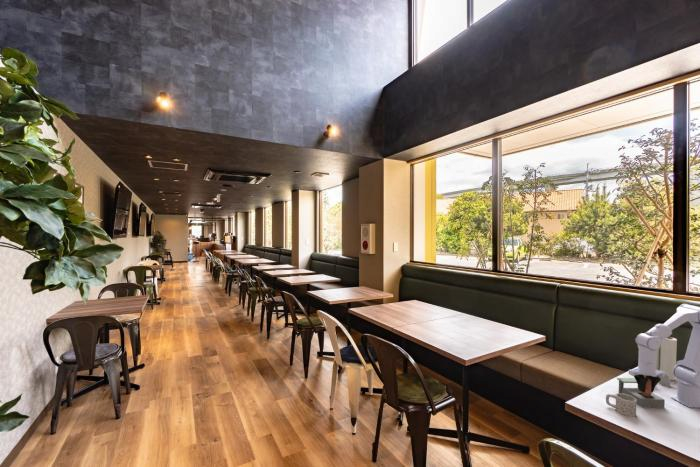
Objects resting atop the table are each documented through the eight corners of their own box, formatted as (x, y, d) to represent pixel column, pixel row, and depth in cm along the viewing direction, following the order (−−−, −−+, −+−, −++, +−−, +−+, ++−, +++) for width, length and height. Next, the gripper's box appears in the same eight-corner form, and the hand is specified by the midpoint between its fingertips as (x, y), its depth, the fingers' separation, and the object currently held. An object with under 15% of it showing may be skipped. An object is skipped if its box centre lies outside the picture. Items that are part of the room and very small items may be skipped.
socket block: (639, 392, 151) (639, 378, 151) (665, 407, 139) (666, 391, 139) (616, 392, 151) (616, 377, 151) (640, 407, 139) (641, 391, 139)
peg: (645, 393, 144) (646, 378, 144) (653, 397, 141) (653, 381, 140) (639, 393, 144) (639, 378, 143) (646, 397, 140) (646, 381, 140)
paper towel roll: (677, 378, 166) (678, 338, 166) (673, 381, 163) (674, 340, 163) (658, 373, 173) (660, 334, 172) (654, 375, 170) (656, 336, 169)
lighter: (670, 385, 159) (670, 369, 159) (669, 386, 158) (670, 370, 157) (650, 380, 164) (651, 365, 164) (650, 381, 163) (650, 366, 163)
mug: (636, 412, 134) (637, 397, 134) (635, 419, 130) (636, 403, 130) (606, 403, 142) (607, 388, 141) (604, 409, 137) (604, 393, 137)
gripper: (639, 364, 138) (638, 395, 138) (672, 365, 138) (671, 396, 138) (625, 358, 145) (624, 387, 145) (656, 358, 145) (655, 388, 145)
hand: (645, 391), depth 142 cm, fingers closed on peg, 3 cm apart
